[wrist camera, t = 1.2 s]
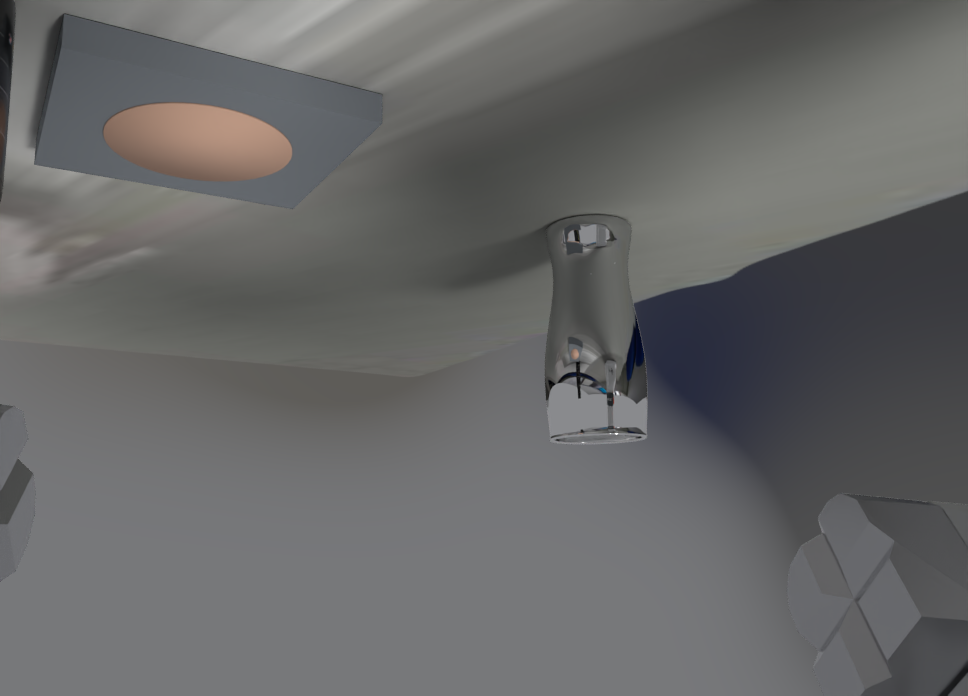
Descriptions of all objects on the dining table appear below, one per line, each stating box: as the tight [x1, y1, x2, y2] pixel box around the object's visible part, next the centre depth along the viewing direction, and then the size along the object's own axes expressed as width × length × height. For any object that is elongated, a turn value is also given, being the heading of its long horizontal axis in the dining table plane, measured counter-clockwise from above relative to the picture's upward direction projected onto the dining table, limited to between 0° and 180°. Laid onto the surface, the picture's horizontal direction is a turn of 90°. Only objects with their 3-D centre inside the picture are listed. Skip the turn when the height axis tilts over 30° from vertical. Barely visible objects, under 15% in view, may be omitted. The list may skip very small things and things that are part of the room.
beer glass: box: [545, 215, 647, 444], centre depth 61 cm, size 7×7×15 cm
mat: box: [34, 14, 382, 209], centre depth 44 cm, size 14×13×2 cm
